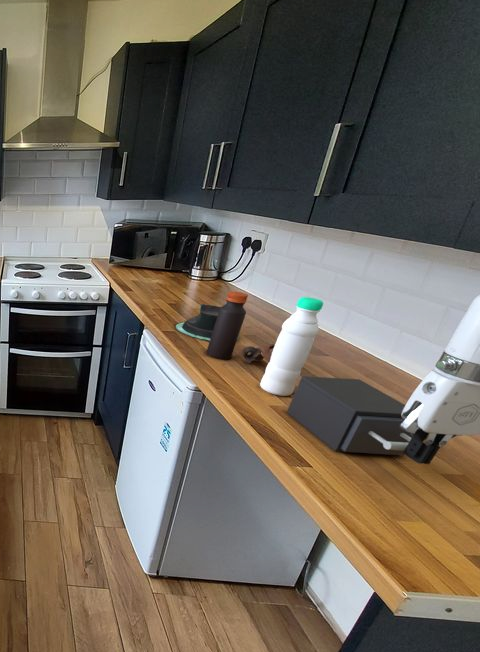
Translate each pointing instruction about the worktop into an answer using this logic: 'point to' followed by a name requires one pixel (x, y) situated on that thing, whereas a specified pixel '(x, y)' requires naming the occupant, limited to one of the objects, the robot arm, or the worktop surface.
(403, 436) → the mini chest drawer
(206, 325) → the dark green hat
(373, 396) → the grey drawer unit
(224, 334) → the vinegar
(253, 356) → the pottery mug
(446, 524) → the worktop surface
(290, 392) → the water bottle
